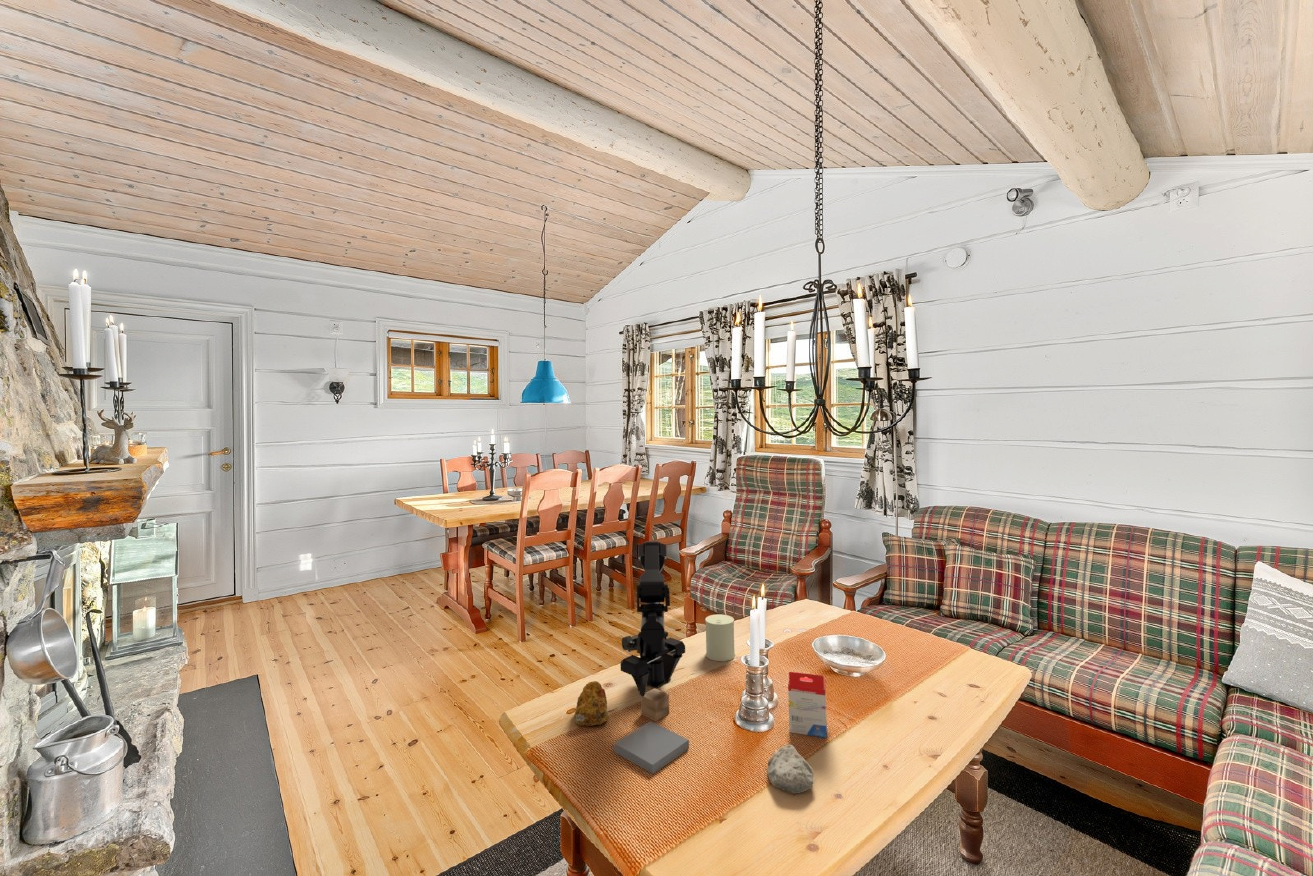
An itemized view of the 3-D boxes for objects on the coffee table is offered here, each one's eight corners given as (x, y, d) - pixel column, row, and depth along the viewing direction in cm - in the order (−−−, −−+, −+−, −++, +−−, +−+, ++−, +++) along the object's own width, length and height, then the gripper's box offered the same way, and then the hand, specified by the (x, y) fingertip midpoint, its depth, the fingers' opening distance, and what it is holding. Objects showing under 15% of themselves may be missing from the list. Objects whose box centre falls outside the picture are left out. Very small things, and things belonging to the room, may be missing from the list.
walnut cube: (654, 707, 144) (654, 688, 143) (669, 713, 140) (668, 694, 140) (641, 714, 140) (641, 695, 140) (656, 721, 137) (655, 701, 136)
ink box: (827, 727, 132) (826, 667, 131) (826, 739, 127) (825, 676, 127) (790, 722, 135) (789, 663, 134) (788, 733, 130) (787, 671, 130)
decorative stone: (830, 790, 110) (829, 766, 110) (783, 804, 106) (783, 779, 106) (794, 756, 121) (794, 733, 121) (751, 767, 118) (751, 744, 117)
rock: (612, 731, 140) (608, 718, 133) (580, 740, 139) (574, 727, 132) (605, 687, 148) (601, 673, 140) (574, 695, 146) (569, 681, 139)
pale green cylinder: (704, 660, 170) (703, 622, 170) (707, 648, 179) (706, 612, 179) (734, 662, 169) (733, 623, 168) (735, 649, 178) (734, 613, 178)
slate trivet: (650, 729, 133) (650, 721, 133) (689, 748, 125) (688, 739, 125) (614, 752, 124) (614, 743, 124) (653, 774, 116) (652, 764, 116)
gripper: (654, 611, 152) (656, 667, 152) (604, 632, 138) (606, 693, 139) (685, 620, 144) (687, 679, 145) (635, 643, 131) (637, 707, 131)
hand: (654, 689), depth 140 cm, fingers open, 9 cm apart
